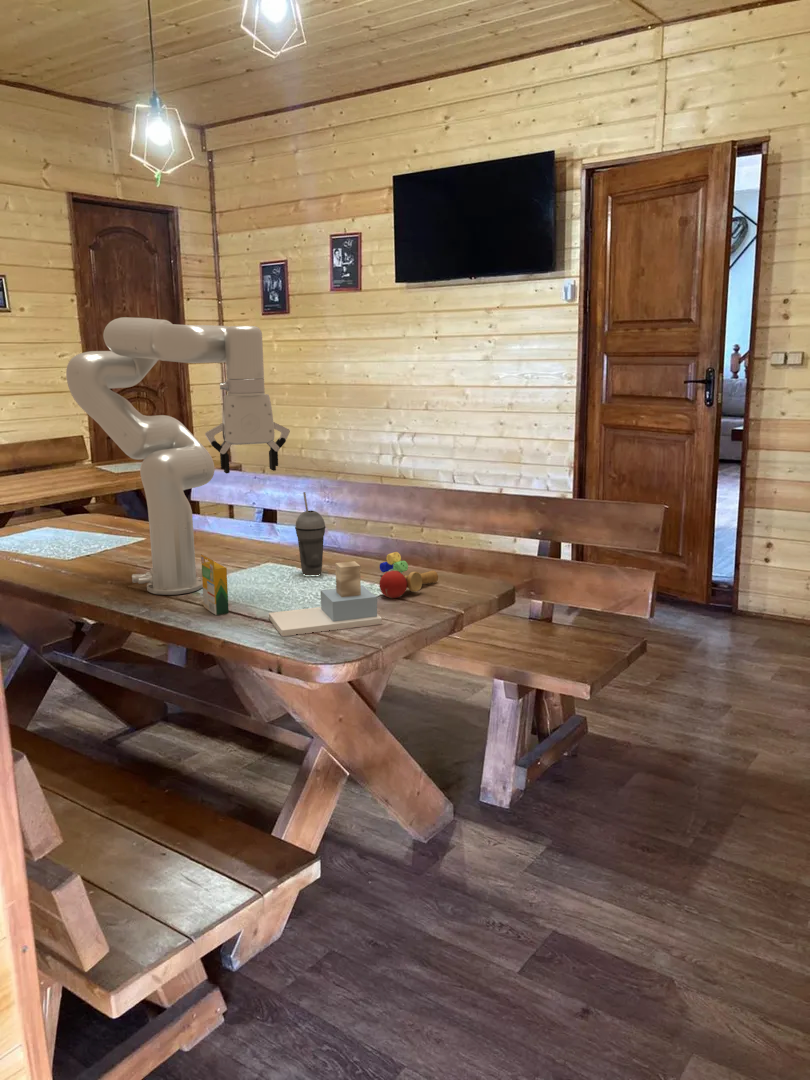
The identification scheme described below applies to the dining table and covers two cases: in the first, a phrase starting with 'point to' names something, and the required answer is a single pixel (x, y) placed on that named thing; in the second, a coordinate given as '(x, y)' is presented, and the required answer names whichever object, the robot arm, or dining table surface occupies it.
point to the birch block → (348, 579)
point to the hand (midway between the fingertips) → (250, 471)
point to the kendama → (404, 582)
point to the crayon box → (214, 586)
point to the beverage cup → (310, 540)
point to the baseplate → (314, 621)
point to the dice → (396, 560)
